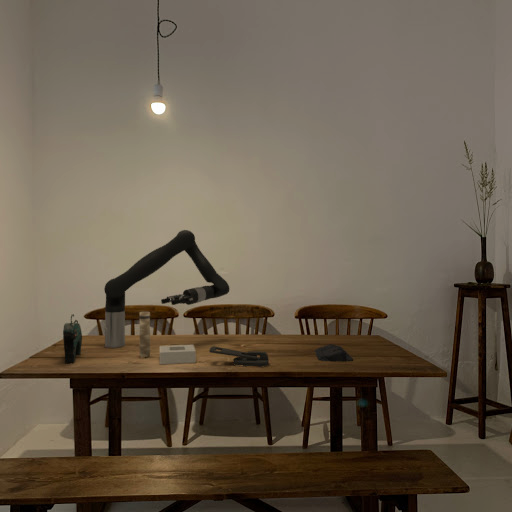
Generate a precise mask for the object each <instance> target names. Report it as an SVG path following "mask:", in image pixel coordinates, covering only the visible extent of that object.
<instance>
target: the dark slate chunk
mask: <svg viewBox="0 0 512 512" xmlns="http://www.w3.org/2000/svg"><path fill="white" fill-rule="evenodd" d="M314 352H315V356H316V358H317V360H318V361H322V362H336V361H338V362H351V361H353V360H354V358H353V357H352V356H351V355H350V354H349V353H348V352H347V351H346V350H345V349H343V347H342V346H340V345H337V344H332V343H330V344H327V345H324V346H321V347H317V348H315V350H314Z"/></svg>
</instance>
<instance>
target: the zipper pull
mask: <svg viewBox="0 0 512 512" xmlns="http://www.w3.org/2000/svg"><path fill="white" fill-rule="evenodd" d="M208 351H209V353H212V354H216V355H217V354H219V355H225V356H233V357H234V358H233V360H232V361H233V363H234V364H235V365H243V366H242V367H247V366H259V367H258V368H263V367H262V366H266V367H268V366H269V365H270V364H269V362H270V359H269V356H268V352H266V351H259V350H258V351H257V350H254V351H253V350H252V351H247V352H246V351H241V350H234V349H230V348H225V347H220V346H216V345H215V346H211V347H210V348H209V350H208ZM233 363H232V364H233ZM234 364H233V365H234ZM235 365H234V366H235ZM267 365H268V366H267Z"/></svg>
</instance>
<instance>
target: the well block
mask: <svg viewBox="0 0 512 512" xmlns="http://www.w3.org/2000/svg"><path fill="white" fill-rule="evenodd" d="M196 351H197V350H196V348H195V344H179V345H178V344H177V345H176V344H174V345H159V365H175V364H178V363H180V364H195V363H197V362H196V360H197V359H196V357H197V356H196V355H197V354H196ZM178 365H179V364H178Z"/></svg>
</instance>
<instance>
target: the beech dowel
mask: <svg viewBox="0 0 512 512" xmlns="http://www.w3.org/2000/svg"><path fill="white" fill-rule="evenodd" d="M138 318H139V358H140V357H148V358H150V357H151V312H150V311H140V312H139V317H138Z"/></svg>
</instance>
